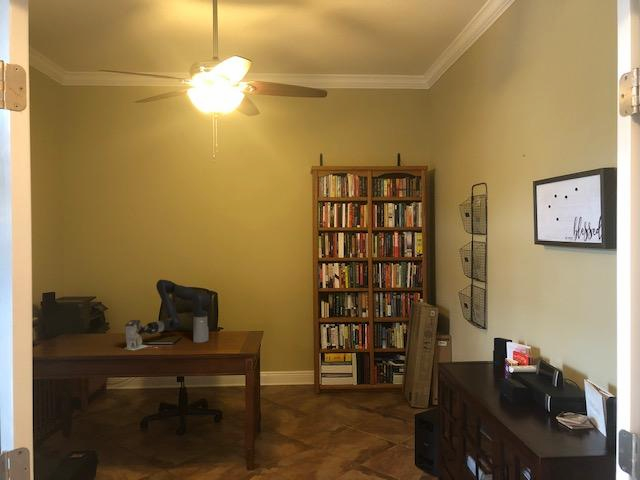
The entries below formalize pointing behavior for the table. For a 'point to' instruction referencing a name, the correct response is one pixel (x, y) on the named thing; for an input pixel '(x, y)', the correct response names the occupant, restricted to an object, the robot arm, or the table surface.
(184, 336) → the table surface
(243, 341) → the table surface
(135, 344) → the coffee box
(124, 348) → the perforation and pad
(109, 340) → the table surface
